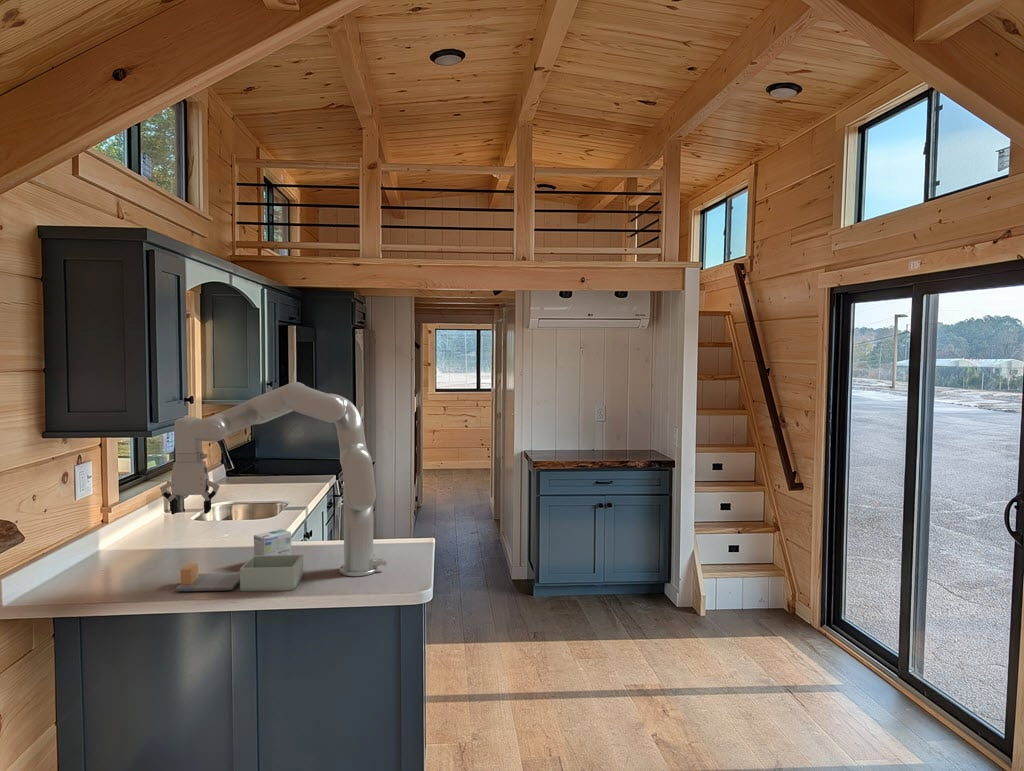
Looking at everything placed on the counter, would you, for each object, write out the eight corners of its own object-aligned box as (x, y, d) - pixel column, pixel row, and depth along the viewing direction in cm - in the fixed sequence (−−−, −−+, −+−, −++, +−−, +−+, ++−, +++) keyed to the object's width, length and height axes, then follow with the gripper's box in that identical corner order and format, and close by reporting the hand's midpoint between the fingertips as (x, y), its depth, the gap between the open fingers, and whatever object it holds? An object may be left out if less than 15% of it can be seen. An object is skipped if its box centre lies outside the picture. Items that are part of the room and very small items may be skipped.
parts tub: (303, 578, 224) (303, 554, 224) (294, 592, 211) (294, 567, 211) (252, 579, 223) (252, 555, 222) (240, 594, 210) (239, 568, 209)
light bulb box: (281, 558, 243) (281, 528, 242) (292, 562, 238) (292, 531, 238) (253, 566, 234) (252, 534, 234) (264, 570, 230) (263, 538, 229)
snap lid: (245, 578, 223) (245, 558, 222) (232, 593, 209) (231, 572, 209) (192, 579, 221) (192, 559, 221) (175, 594, 208) (175, 573, 207)
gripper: (222, 455, 217) (223, 509, 218) (164, 456, 216) (166, 510, 217) (214, 459, 210) (215, 515, 211) (154, 460, 208) (156, 516, 209)
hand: (190, 513), depth 214 cm, fingers open, 9 cm apart
